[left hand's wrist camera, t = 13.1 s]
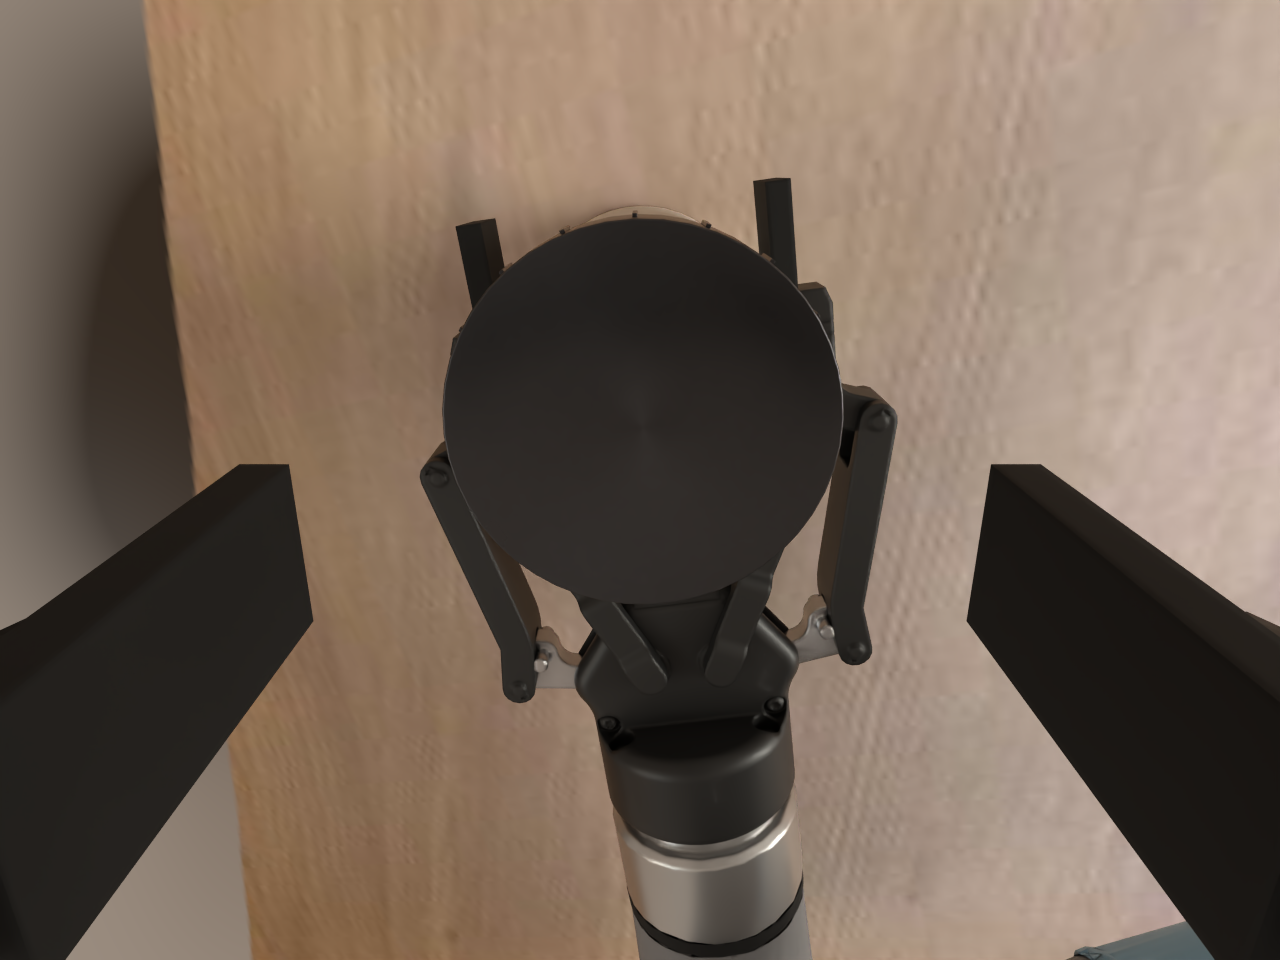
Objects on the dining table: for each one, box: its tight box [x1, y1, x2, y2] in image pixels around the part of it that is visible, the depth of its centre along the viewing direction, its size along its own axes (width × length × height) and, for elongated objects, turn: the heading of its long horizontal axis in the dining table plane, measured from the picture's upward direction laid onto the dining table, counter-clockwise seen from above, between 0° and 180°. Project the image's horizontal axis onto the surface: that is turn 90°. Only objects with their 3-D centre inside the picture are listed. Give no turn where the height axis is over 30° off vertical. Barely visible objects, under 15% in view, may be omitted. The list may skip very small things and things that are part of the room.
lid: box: [442, 210, 843, 604], centre depth 20 cm, size 9×9×2 cm
